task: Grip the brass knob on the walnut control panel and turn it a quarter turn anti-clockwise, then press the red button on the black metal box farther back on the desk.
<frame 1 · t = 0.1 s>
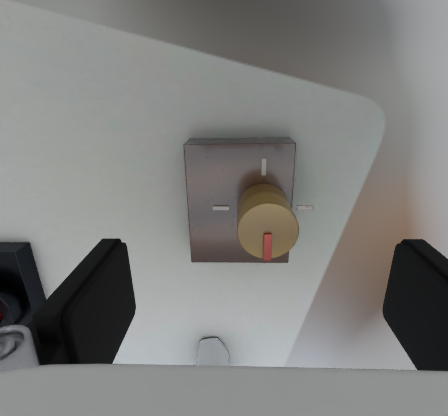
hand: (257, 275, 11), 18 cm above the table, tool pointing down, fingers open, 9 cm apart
panel: (239, 196, 29), on the table
eye dropper bottle: (214, 352, 37), on the table
knob: (265, 219, 24), point 6 cm above the table, hinge at 0.0°
button box: (8, 289, 34), on the table
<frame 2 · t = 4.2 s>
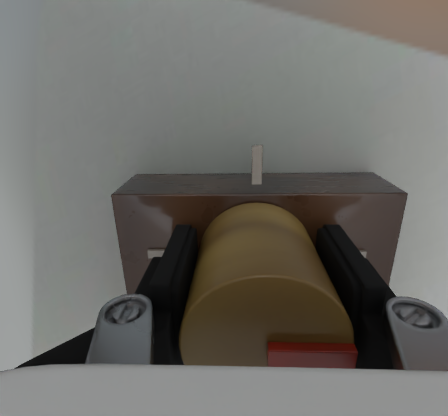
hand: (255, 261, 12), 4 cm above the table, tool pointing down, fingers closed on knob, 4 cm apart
panel: (251, 258, 16), on the table
knob: (259, 293, 10), point 6 cm above the table, hinge at 0.0°, touching gripper
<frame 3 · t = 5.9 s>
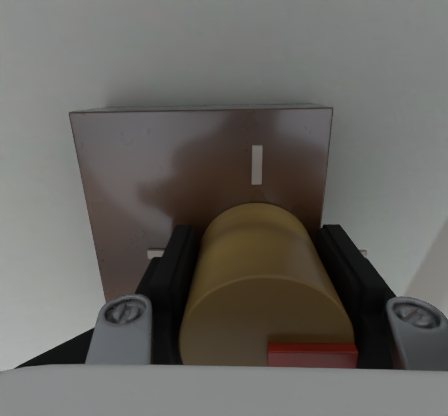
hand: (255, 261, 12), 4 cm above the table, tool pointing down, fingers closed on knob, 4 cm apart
panel: (211, 222, 15), on the table
knob: (259, 294, 10), point 6 cm above the table, hinge at 90.7°, touching gripper
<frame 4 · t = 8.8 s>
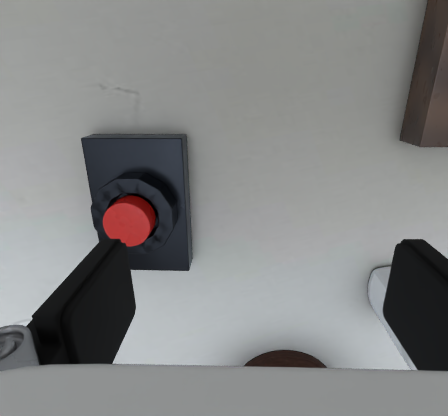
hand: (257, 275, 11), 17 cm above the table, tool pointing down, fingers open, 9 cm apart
eye dropper bottle: (383, 287, 30), on the table
button: (130, 220, 24), point 4 cm above the table, slide at 0.1 cm
black ball on stand: (283, 384, 36), on the table
button box: (146, 200, 28), on the table
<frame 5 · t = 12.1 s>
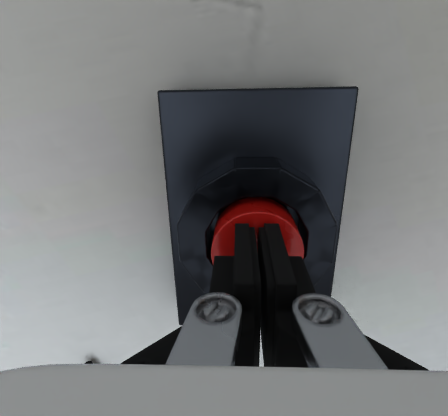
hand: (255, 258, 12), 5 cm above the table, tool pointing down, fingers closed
button: (256, 244, 13), point 4 cm above the table, slide at -0.4 cm, touching gripper
button box: (252, 208, 16), on the table
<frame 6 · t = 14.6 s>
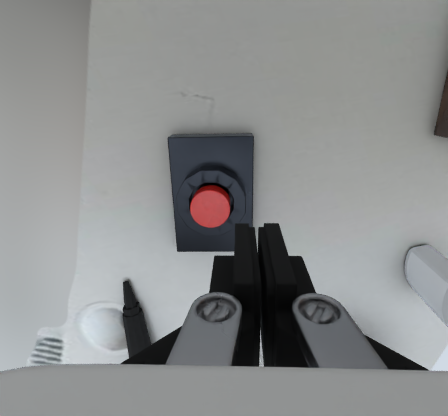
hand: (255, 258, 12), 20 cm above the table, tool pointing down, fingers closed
microphone: (151, 344, 40), on the table
eye dropper bottle: (418, 264, 35), on the table
button: (210, 206, 28), point 4 cm above the table, slide at 0.1 cm
button box: (214, 191, 32), on the table
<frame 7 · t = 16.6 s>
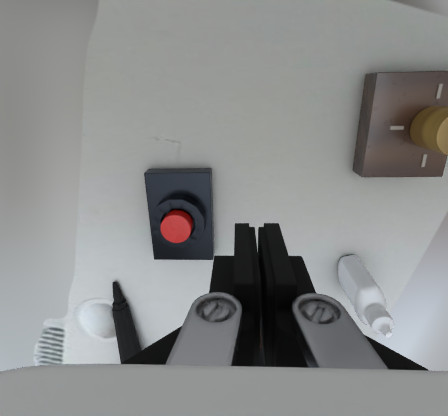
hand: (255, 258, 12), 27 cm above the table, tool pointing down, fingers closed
panel: (397, 124, 35), on the table
microphone: (136, 333, 49), on the table
eye dropper bottle: (349, 270, 43), on the table
button: (176, 226, 36), point 4 cm above the table, slide at 0.1 cm
knob: (446, 130, 30), point 6 cm above the table, hinge at 90.5°
button box: (183, 212, 41), on the table
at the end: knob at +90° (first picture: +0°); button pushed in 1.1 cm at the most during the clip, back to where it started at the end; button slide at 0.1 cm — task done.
